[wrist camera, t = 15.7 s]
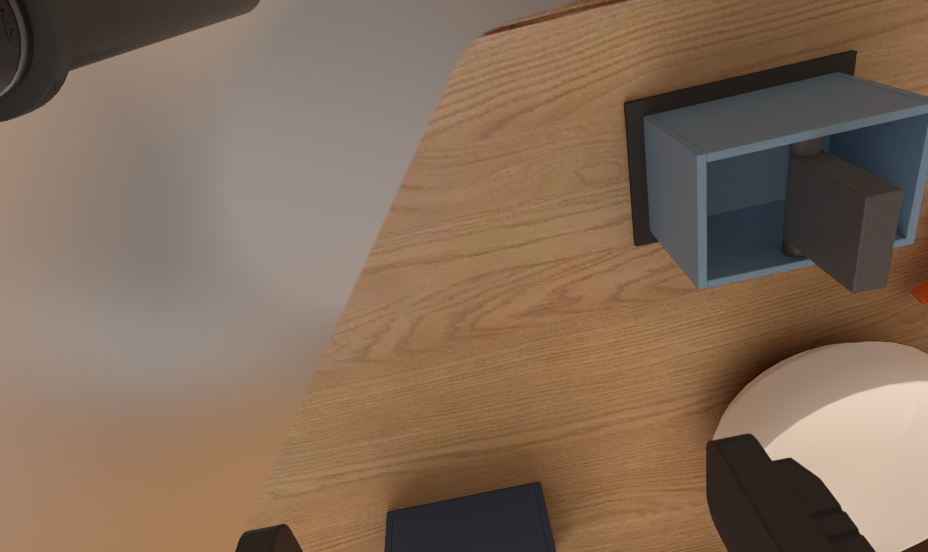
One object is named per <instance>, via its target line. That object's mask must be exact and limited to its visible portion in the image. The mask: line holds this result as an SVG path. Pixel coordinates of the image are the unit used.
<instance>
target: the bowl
mask: <svg viewBox="0 0 928 552" xmlns="http://www.w3.org/2000/svg"><path fill="white" fill-rule="evenodd" d="M747 433H750V434H752V435H753V436H754V437H755V438H756V439H757V440H758V441H759V443H760V444H761V446H762V447H763V448H764V450H765V451H766V453H767V454H768V456H769V457H770V459H771V460H772V461H774V460H780V459H785V458H790V457H791V458H792V459H794V460H795V461H796V462H798V463H799V464H801V465H802V466H803V467H805V468H806V469H808V470H809V471H811V472H812V473H813V474H815V475H816V476H818V477H819V478H820V479H821V480H822V481H823V483H824V484H825V485H826V487H827V488H828V489H829V491H830V492H831V493H832V495H833V496H834V497H835V499H836V500H837V501H838V502H839V504H840V505H841V508H842V510H843V511H845V512H846V513H847V514H848V516H849V517H850V518H851V520H852V521H853V522H854V524H855V525H856V526H857V527H858V530H859V533H860V534H861V535H864V537H865V538H866V539H867V541H868V542H869V543H870V545H871V546H872V547H873V549H874V550H875V551H876V552H901V551H903V550H905V549H907V548H909V547H911V546H914V545H916V544H918V543H920V542H922V541H924V540H925V539H927V538H928V354H926V353H924V352H922V351H920V350H918V349H916V348H914V347H911V346H906V345H902V344H898V343H893V342H870V341H867V342H859V343H840V344H833V345H825V346H821V347H818V348H814V349H811V350H807V351H804V352H801V353H799V354H797V355H794V356H792V357H790V358H787V359H785V360H783V361H781V362H779V363H777V364H776V365H774V366H772V367H771V368H769V369H767V370H766V371H764V372H762V373H761V374H760V375H759V376H757V377H756V378H755V379H754V380H752V381H751V382H750V383H749V384H747V385H746V386H745V387H744V388H743V389H742V390H741V392H740V393H739V394H738V395H737V396H736V397H735V398H734V399H733V400H732V401H731V403H730V405H729V406H728V408H727V409H726V411H725V412H724V414H723V415H722V417H721V420H720V422H719V425H718V427H717V429H716V431H715V434H714V436H713V439H712V440H717V439H722V438H727V437H732V436H737V435H742V434H747Z"/></svg>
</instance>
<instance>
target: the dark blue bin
mask: <svg viewBox="0 0 928 552" xmlns="http://www.w3.org/2000/svg"><path fill="white" fill-rule="evenodd" d="M384 552H556V550H555V545H554V541H553V536H552V532H551V527H550V523H549V518H548V514H547V509H546V505H545V501H544V496H543V492H542V487H541V483H540V482H538V483H533V484H528V485H523V486H518V487H513V488H508V489H503V490H497V491H492V492H487V493H482V494H477V495H472V496H467V497H462V498H457V499H452V500H447V501H442V502H437V503H432V504H427V505H422V506H417V507H412V508H407V509H402V510H397V511H391V512H387V520H386V536H385V551H384Z"/></svg>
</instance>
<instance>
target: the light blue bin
mask: <svg viewBox="0 0 928 552" xmlns="http://www.w3.org/2000/svg"><path fill="white" fill-rule="evenodd" d="M643 119H644V136H645V153H646V171H647V188H648V205H649V222H650V231H651V233H652V234H653V235H654V236H655V237H656V239H657V240H658V241H659V242H660V244H661V245H662V246H663V247H664V248H665V250H666V251H667V252H668V253H669V254H670V256H671V257H672V258H673V259H674V260H675V262H676V263H677V264H678V265H679V267H680V268H681V269H682V270H683V271H684V273H685V274H686V275H687V276H688V277H689V279H690V280H691V281H692V282H693V283H694V285H695V286H696V287H697V288H698V290H701V289H705V288H710V287H714V286H719V285H724V284H728V283H733V282H738V281H742V280H747V279H752V278H756V277H761V276H766V275H771V274H775V273H780V272H785V271H789V270H794V269H799V268H803V267H808V266H813V265H817V266H819V267H820V268H821V269H822V270H824V271H825V272H826V273H828V274H829V275H830V276H831V277H833V278H834V279H835V280H836V281H838V282H839V283H840V284H842V285H843V286H844V287H845V288H847V289H848V290H849V291H851V292H852V293H857V292H862V291H867V290H872V289H876V288H881V287H885V286H886V285H887V279H888V274H889V268H890V262H891V257H892V251H893V248H897V247H902V246H906V245H911V244H914V240H915V235H916V230H917V225H918V220H919V215H920V210H921V205H922V200H923V195H924V190H925V185H926V180H927V174H928V97H927V96H923V95H920V94H916V93H912V92H909V91H905V90H902V89H898V88H894V87H891V86H887V85H884V84H880V83H876V82H873V81H869V80H866V79H862V78H859V77H855V76H851V75H848V74H844V73H841V72H836V73H831V74H827V75H823V76H818V77H814V78H810V79H805V80H801V81H797V82H792V83H788V84H783V85H779V86H775V87H770V88H766V89H762V90H757V91H753V92H749V93H744V94H740V95H736V96H731V97H727V98H723V99H718V100H714V101H709V102H705V103H701V104H696V105H692V106H688V107H683V108H679V109H675V110H670V111H666V112H662V113H657V114H653V115H648V116H644V117H643Z"/></svg>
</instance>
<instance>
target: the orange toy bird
mask: <svg viewBox="0 0 928 552" xmlns="http://www.w3.org/2000/svg"><path fill="white" fill-rule="evenodd" d="M910 292H911V293H912V295H913V296H914V297H915V298H916V299H917V300H918V301H919V302H921V303H922V304H924V305H926V306H928V279H927V280H926V281H924V282H923V283H921V284H920V285H918V286H917V287H916V288H914V289H913V290H911V291H910Z"/></svg>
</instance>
